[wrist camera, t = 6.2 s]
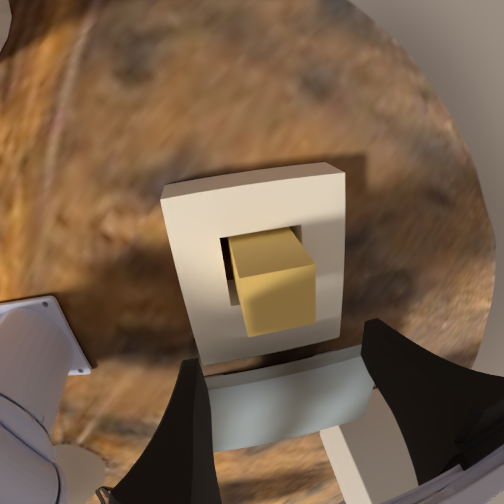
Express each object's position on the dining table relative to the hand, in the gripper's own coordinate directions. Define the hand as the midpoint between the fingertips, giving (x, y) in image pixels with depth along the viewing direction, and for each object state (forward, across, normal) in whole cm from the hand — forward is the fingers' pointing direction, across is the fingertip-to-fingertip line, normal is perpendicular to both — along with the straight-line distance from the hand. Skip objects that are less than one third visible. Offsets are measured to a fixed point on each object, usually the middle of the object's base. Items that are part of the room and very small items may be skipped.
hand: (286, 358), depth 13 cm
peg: (+10, 0, -1) cm, 10 cm away
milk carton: (+10, -10, +23) cm, 26 cm away
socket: (+10, -1, 0) cm, 10 cm away
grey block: (+10, 0, +10) cm, 14 cm away
